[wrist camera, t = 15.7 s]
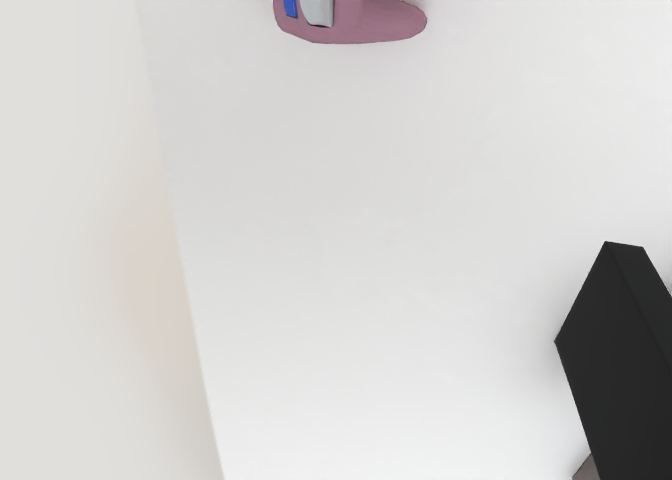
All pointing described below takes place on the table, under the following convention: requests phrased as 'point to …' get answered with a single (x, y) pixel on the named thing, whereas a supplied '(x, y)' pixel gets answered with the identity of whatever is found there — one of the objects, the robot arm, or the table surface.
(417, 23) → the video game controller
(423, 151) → the table surface
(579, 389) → the robot arm
